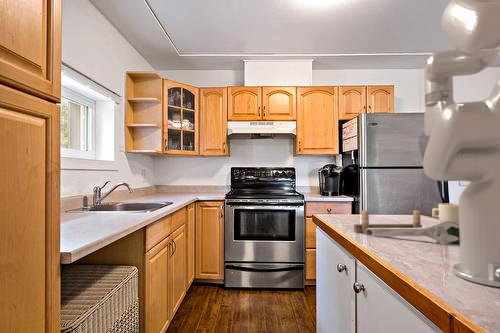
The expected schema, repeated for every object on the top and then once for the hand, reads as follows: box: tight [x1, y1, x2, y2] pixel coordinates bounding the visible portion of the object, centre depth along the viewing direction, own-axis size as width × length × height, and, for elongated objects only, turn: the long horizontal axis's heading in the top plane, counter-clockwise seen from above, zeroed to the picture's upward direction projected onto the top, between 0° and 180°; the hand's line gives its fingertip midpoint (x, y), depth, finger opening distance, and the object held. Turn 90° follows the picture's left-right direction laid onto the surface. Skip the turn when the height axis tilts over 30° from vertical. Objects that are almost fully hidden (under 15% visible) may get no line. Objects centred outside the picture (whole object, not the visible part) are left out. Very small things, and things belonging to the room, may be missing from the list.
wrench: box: [364, 220, 459, 245], centre depth 97 cm, size 8×2×30 cm
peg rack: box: [353, 209, 423, 236], centre depth 109 cm, size 5×26×9 cm, turn 89°
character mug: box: [431, 202, 460, 243], centre depth 94 cm, size 11×7×13 cm, turn 53°
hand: (440, 156), depth 87 cm, fingers closed
